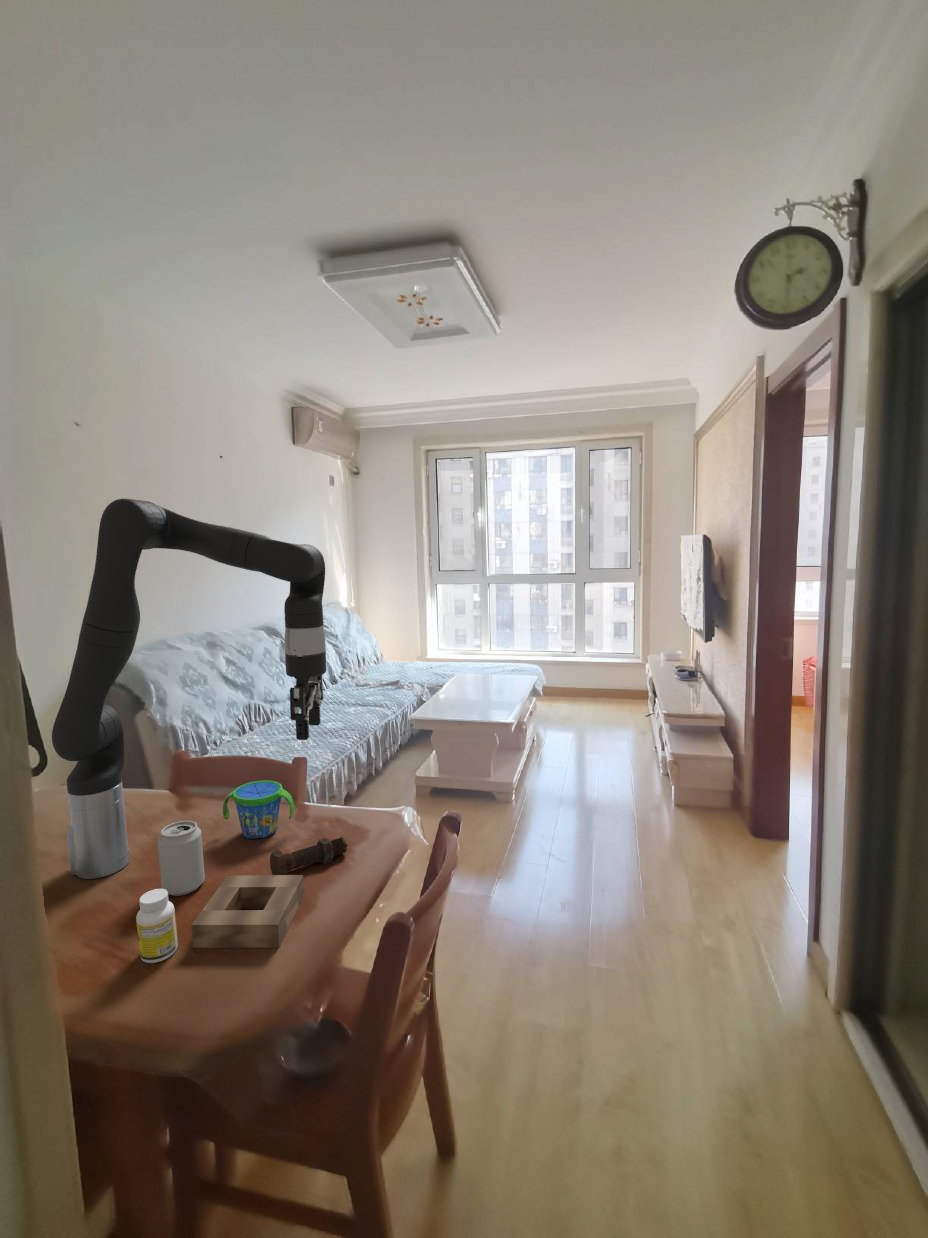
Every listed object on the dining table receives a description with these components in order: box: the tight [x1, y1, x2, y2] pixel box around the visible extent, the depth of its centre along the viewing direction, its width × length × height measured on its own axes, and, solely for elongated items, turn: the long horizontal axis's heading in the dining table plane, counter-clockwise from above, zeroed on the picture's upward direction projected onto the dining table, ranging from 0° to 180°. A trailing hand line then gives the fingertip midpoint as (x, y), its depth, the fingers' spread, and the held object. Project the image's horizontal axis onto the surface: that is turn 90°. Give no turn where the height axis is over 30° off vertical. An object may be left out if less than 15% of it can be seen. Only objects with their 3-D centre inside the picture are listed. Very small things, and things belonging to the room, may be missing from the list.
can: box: [157, 820, 206, 897], centre depth 110 cm, size 8×8×12 cm
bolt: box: [269, 836, 348, 875], centre depth 117 cm, size 6×5×15 cm
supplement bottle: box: [135, 888, 179, 964], centre depth 92 cm, size 5×5×10 cm
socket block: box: [190, 874, 305, 949], centre depth 100 cm, size 14×14×4 cm
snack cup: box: [222, 780, 295, 839], centre depth 131 cm, size 16×10×10 cm
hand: (309, 731), depth 112 cm, fingers open, 8 cm apart
